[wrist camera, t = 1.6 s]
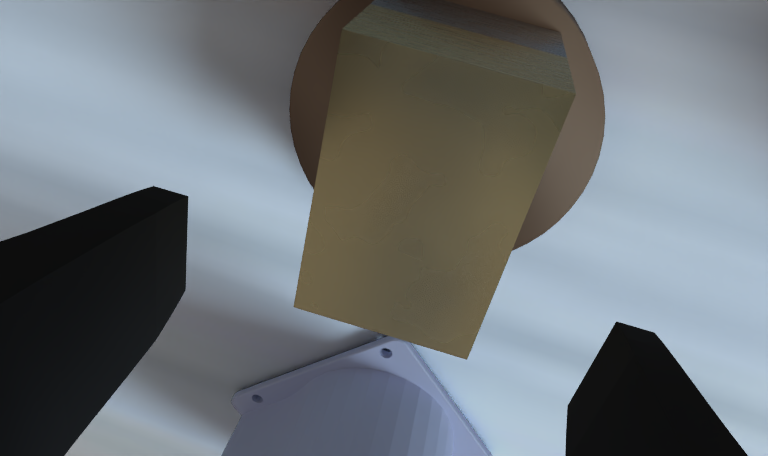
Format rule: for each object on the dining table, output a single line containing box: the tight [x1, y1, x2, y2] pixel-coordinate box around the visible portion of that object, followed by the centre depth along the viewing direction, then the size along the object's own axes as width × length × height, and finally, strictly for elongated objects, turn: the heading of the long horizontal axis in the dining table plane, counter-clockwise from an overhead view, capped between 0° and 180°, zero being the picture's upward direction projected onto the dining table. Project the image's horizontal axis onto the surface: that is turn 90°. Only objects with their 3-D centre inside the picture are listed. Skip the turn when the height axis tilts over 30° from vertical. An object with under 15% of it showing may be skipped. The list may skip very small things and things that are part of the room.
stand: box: [289, 0, 605, 250], centre depth 18 cm, size 9×9×2 cm
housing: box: [294, 0, 576, 359], centre depth 15 cm, size 7×4×5 cm, turn 168°
